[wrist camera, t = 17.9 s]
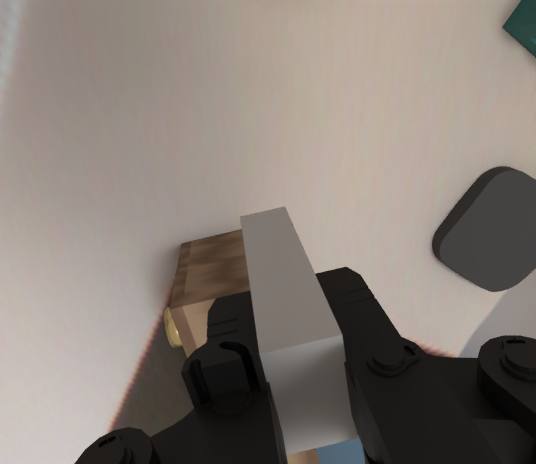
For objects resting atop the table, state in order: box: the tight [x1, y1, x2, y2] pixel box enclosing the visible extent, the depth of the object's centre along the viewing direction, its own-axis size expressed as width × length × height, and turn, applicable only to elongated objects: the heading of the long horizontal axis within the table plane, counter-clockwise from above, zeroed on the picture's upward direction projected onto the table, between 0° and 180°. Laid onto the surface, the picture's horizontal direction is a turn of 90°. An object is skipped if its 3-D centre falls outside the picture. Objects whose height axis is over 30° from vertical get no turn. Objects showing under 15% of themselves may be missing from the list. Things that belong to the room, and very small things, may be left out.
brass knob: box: [164, 307, 183, 348], centre depth 43 cm, size 6×4×4 cm
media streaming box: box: [433, 167, 536, 292], centre depth 51 cm, size 15×15×3 cm
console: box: [169, 229, 319, 464], centre depth 47 cm, size 10×26×14 cm, turn 12°
